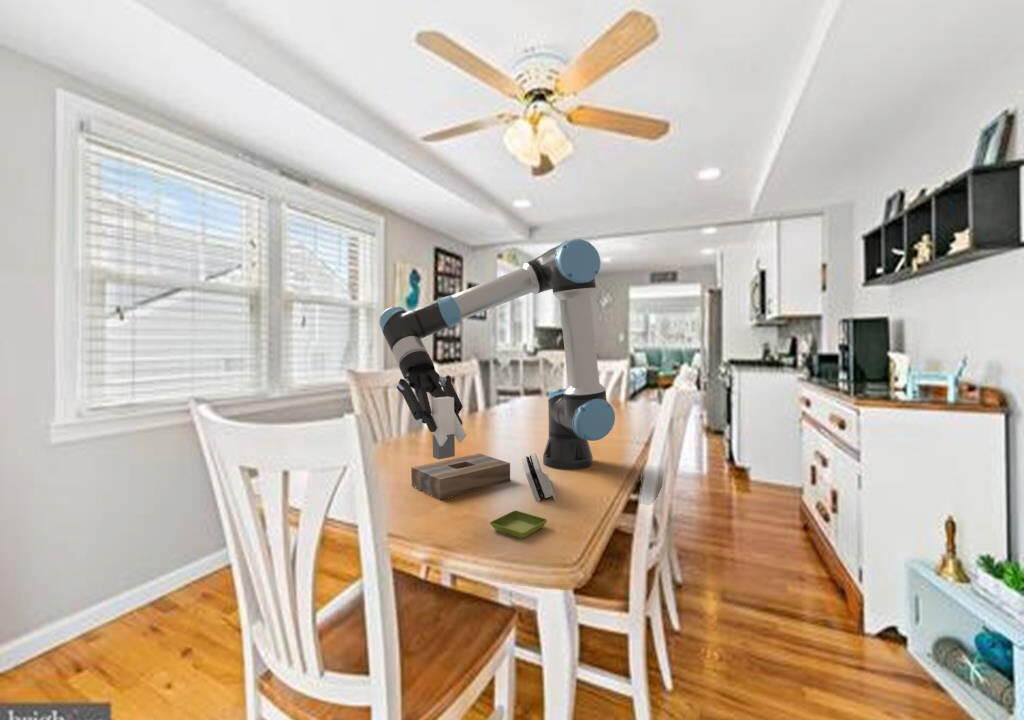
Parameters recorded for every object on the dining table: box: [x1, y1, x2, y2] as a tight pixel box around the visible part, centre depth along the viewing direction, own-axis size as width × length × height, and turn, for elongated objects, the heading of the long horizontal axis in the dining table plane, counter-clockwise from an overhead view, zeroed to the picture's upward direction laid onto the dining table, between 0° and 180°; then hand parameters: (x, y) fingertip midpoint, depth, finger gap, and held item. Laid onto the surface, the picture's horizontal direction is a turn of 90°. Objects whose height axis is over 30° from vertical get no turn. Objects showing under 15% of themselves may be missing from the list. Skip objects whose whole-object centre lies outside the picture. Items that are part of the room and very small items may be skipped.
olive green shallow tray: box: [489, 510, 548, 539], centre depth 97 cm, size 9×9×2 cm
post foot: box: [410, 453, 511, 500], centre depth 127 cm, size 14×22×5 cm, turn 130°
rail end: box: [431, 396, 456, 460], centre depth 104 cm, size 2×4×13 cm, turn 130°
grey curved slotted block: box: [521, 453, 557, 502], centre depth 122 cm, size 17×5×10 cm, turn 1°
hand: (453, 440), depth 102 cm, fingers closed on rail end, 4 cm apart
